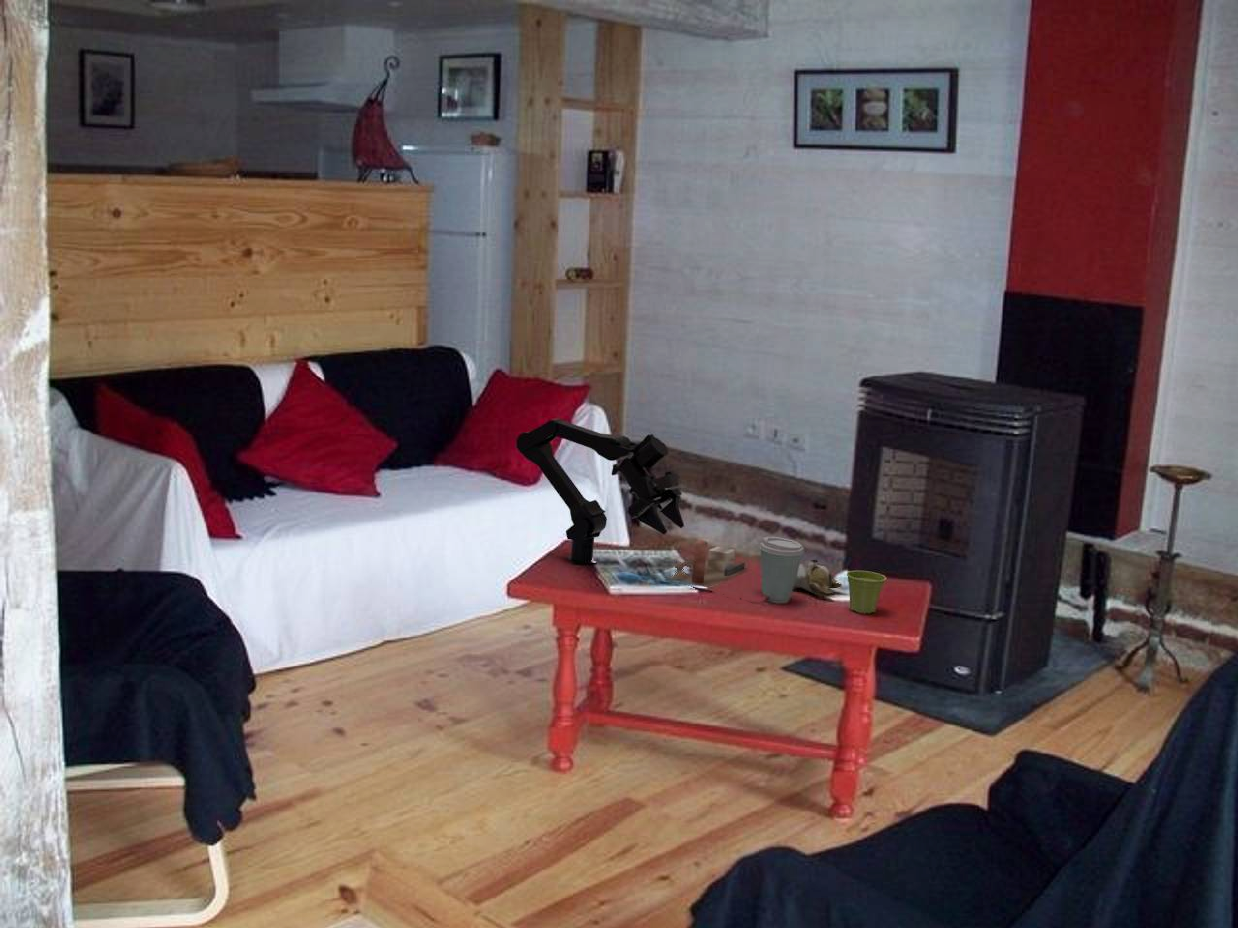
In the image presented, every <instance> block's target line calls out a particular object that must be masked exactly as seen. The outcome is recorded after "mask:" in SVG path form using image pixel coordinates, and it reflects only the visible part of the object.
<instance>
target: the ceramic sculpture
mask: <svg viewBox="0 0 1238 928" xmlns="http://www.w3.org/2000/svg"><path fill="white" fill-rule="evenodd" d="M836 582H838V580H836V579H835V578H834V577H833V572H832V571H831V570H830V568H829V567H828V566H825V565H821V564H819V561H818V559H811V560H808V561H806V563H801V562H800V565H799V569H798V573H797V576H796V580H795V584H794V587H793V590H795V589H796V590H797V589H799V588H801V589H804V590H805V591H807V592H809V593H811V594H814V593H816V594H815V595H817V596H820V597H833V596H835V593H834V592H832V591H833V590H831V589H830V588H838V587H840V586H841V585H842V584H841V583H840V582H838V583H836ZM839 583H840V584H839Z"/></svg>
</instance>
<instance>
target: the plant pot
mask: <svg viewBox="0 0 1238 928" xmlns="http://www.w3.org/2000/svg"><path fill="white" fill-rule="evenodd" d="M846 576H847V581H848V586H849V587H848V589H849V609H850V610H851V611H854V612H856V613H860V614H866V613H868V614H871V613H873V612H874V613H875V612H876V610H877V606H878V602H879V598H880V595H881V592H882V588H883V586H884V584H885V581H886V580H887V577H886V576H885V575H884V574H881V573H878V572H873V571H867V570H851V571H847V572H846Z"/></svg>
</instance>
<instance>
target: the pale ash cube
mask: <svg viewBox="0 0 1238 928" xmlns="http://www.w3.org/2000/svg"><path fill="white" fill-rule="evenodd" d="M735 555H736V550H735V549H731V548H727V547H721V546H715V547H713V548H711V549H709V550H708V559H707V560H708V567H707V569H710V570H714V571H719V572H724V573H725V569H727V568H729V567H731V566H734V565H735V557H736V556H735Z"/></svg>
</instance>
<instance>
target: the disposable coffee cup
mask: <svg viewBox="0 0 1238 928" xmlns="http://www.w3.org/2000/svg"><path fill="white" fill-rule="evenodd" d="M759 548H760V567H761V569H760V570H761V593H762V595H764V596H767V598H764V601H766V602H769V603H773V604H782V605H783V604H787V603H789V602H790V600H791V598H792V595H793V590H794V589H793V587H794V584H795V580H796V576H797V573H798V569H799V565H800V563H801V561H802V558H803V554H804V553H805V548H804V547H803V545H802V544H801V543H800V542H797V541H796V540H792V539H789V538H784V537H777V536H765V537H763V538H762V541H761V542H760V544H759Z"/></svg>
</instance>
